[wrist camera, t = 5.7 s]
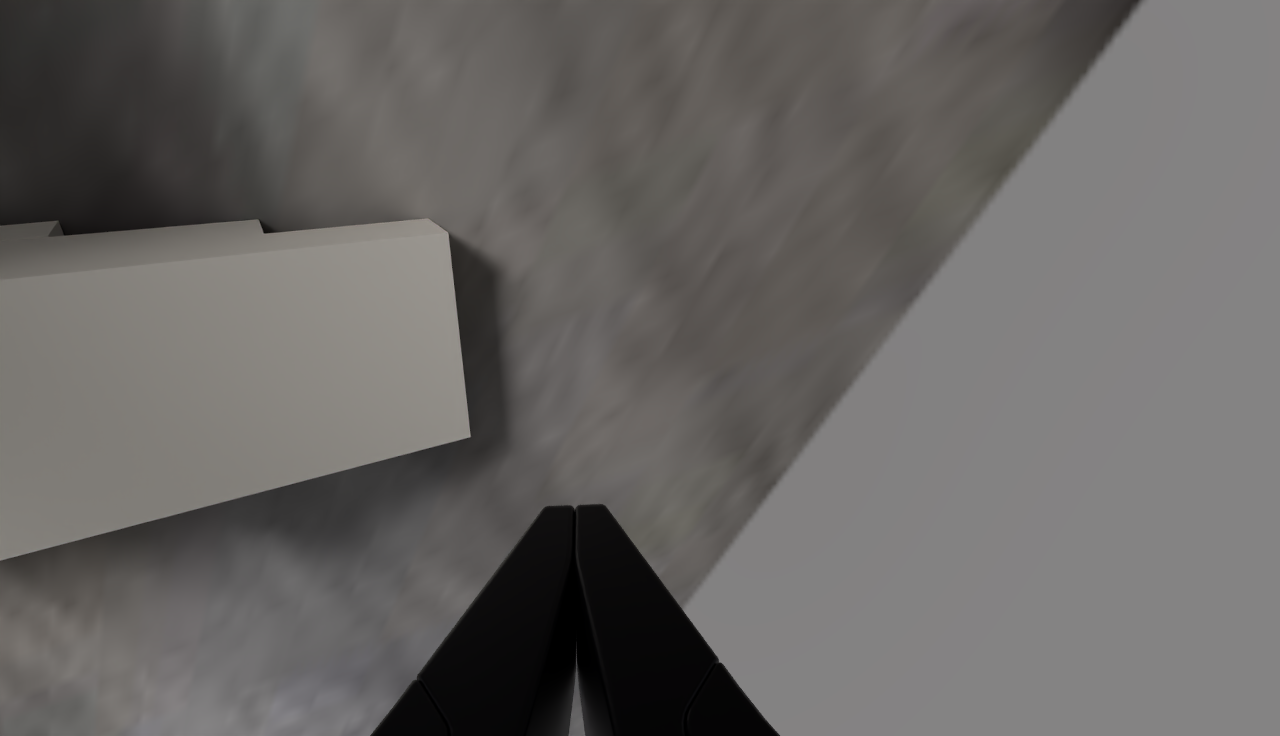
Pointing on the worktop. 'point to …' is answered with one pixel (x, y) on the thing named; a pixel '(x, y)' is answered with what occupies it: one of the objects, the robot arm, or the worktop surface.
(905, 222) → the worktop surface
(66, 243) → the domino
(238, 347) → the domino
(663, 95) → the worktop surface
